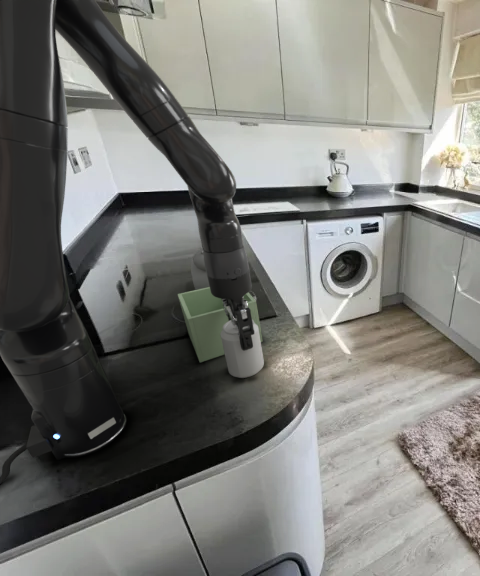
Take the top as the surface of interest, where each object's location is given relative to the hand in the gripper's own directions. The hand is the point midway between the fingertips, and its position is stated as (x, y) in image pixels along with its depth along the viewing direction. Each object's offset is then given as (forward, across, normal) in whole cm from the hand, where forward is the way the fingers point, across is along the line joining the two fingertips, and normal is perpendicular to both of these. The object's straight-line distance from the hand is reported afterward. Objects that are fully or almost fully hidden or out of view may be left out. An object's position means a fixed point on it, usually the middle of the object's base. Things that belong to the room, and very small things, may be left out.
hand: (241, 339), depth 70 cm
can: (+8, 0, 0) cm, 8 cm away
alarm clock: (+8, -38, +3) cm, 39 cm away
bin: (+8, -16, -1) cm, 18 cm away
